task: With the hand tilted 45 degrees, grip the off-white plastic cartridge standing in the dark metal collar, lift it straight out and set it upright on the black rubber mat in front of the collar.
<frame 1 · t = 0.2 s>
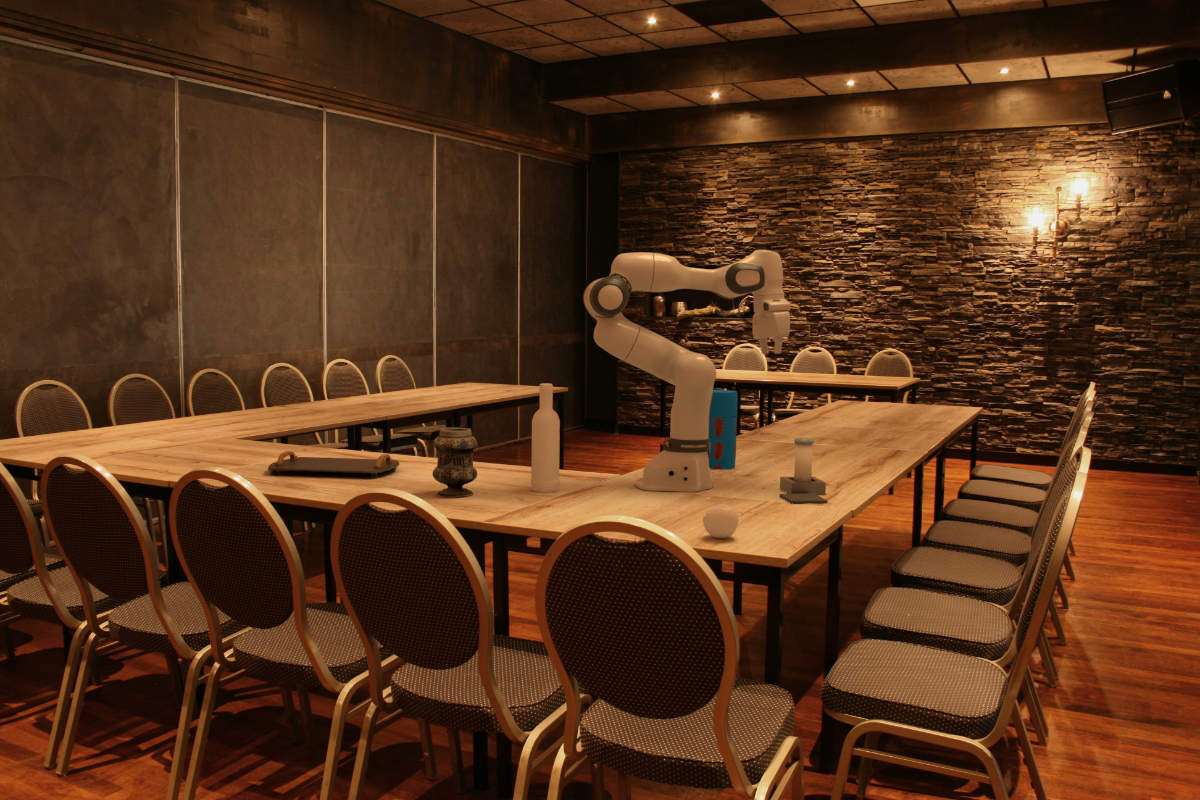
hand: (771, 353, 282), 39 cm above the table, tool pointing down, fingers open, 8 cm apart
serving board: (335, 473, 299), on the table
cartridge: (803, 465, 277), in the collar
collar: (802, 491, 277), on the table
bottle: (545, 490, 274), on the table
mat: (803, 500, 265), on the table
red-spotted teal box: (718, 467, 319), on the table
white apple: (720, 538, 219), on the table
apothecary jar: (455, 495, 265), on the table
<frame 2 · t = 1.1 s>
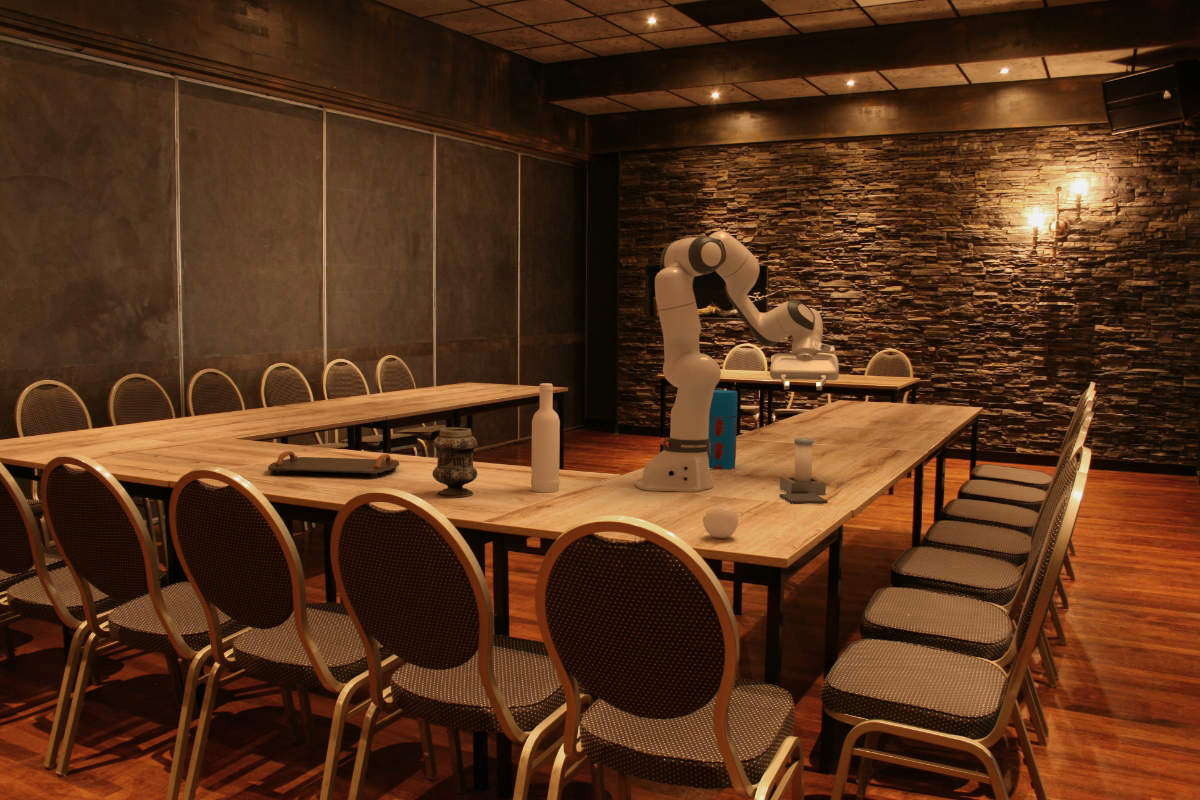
hand: (802, 388, 286), 29 cm above the table, tool tilted 45°, fingers open, 8 cm apart
nothing on the table moved.
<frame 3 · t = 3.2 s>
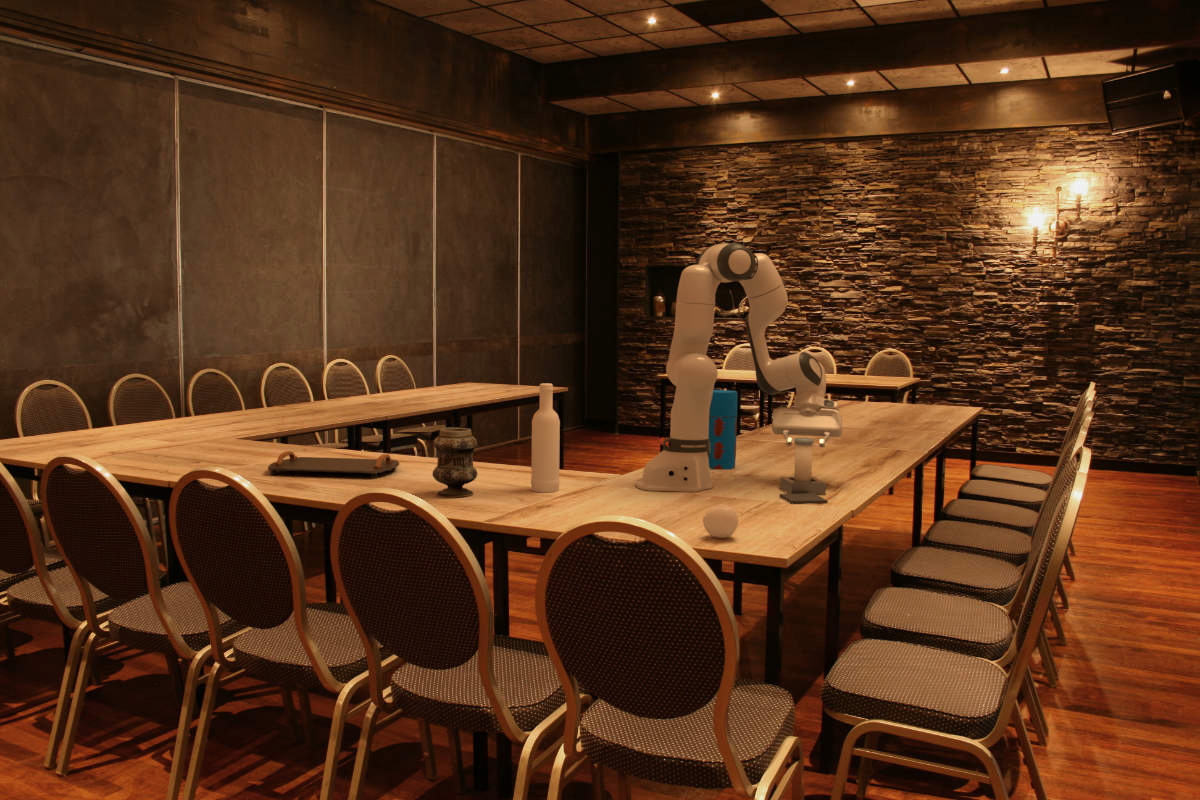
hand: (805, 445, 281), 13 cm above the table, tool tilted 45°, fingers open, 8 cm apart
nothing on the table moved.
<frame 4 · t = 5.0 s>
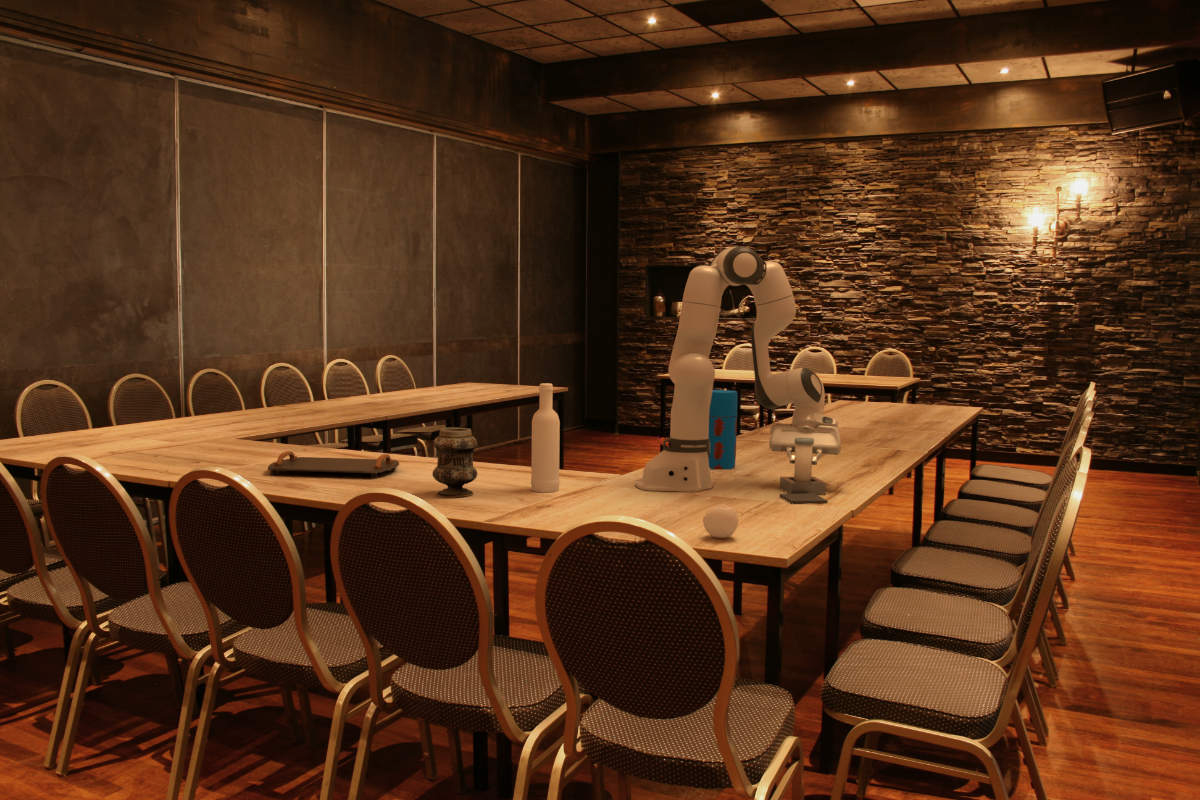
hand: (803, 463, 276), 8 cm above the table, tool tilted 45°, fingers closed on cartridge, 5 cm apart
cartridge: (803, 465, 277), in the collar, touching gripper
everything else where it was.
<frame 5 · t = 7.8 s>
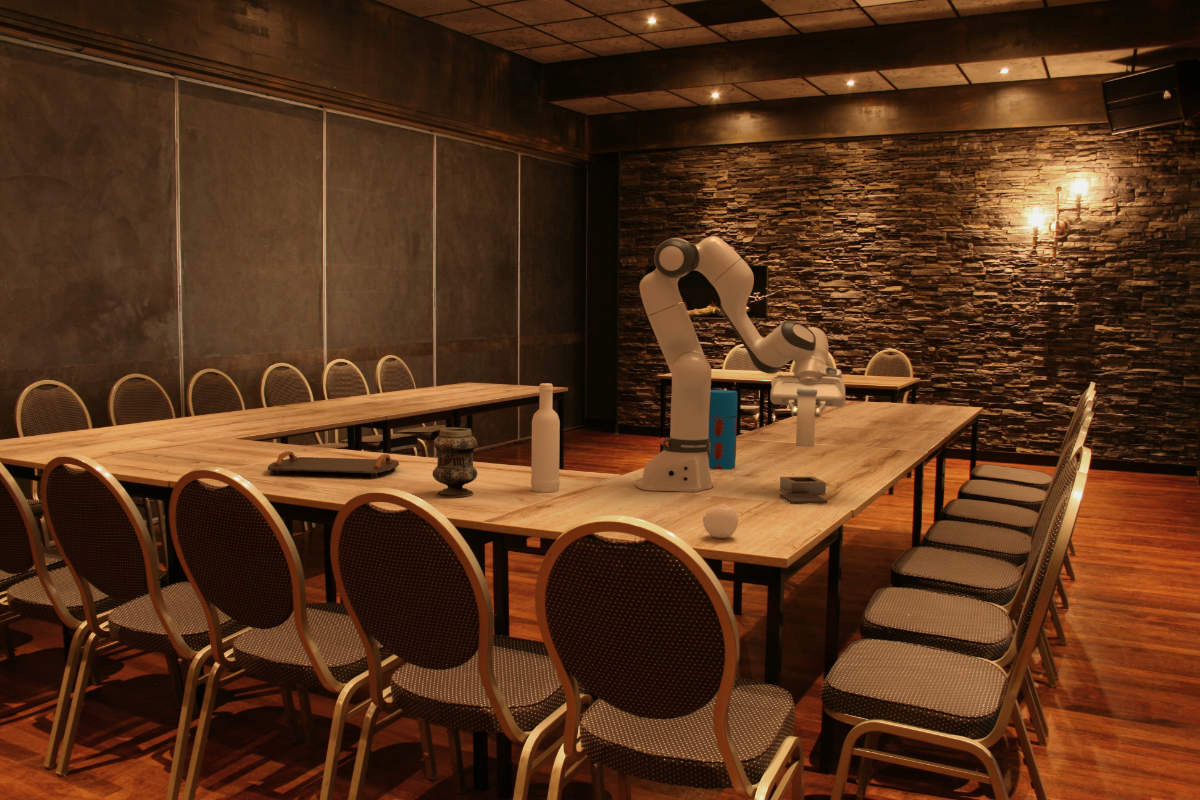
hand: (805, 415, 263), 23 cm above the table, tool tilted 45°, fingers closed on cartridge, 5 cm apart
cartridge: (805, 417, 263), point 22 cm above the table, touching gripper
everything else where it was.
when the fingers open (11 cm above the table, at t = 10.5 s): cartridge drops 2 cm, resting on mat.
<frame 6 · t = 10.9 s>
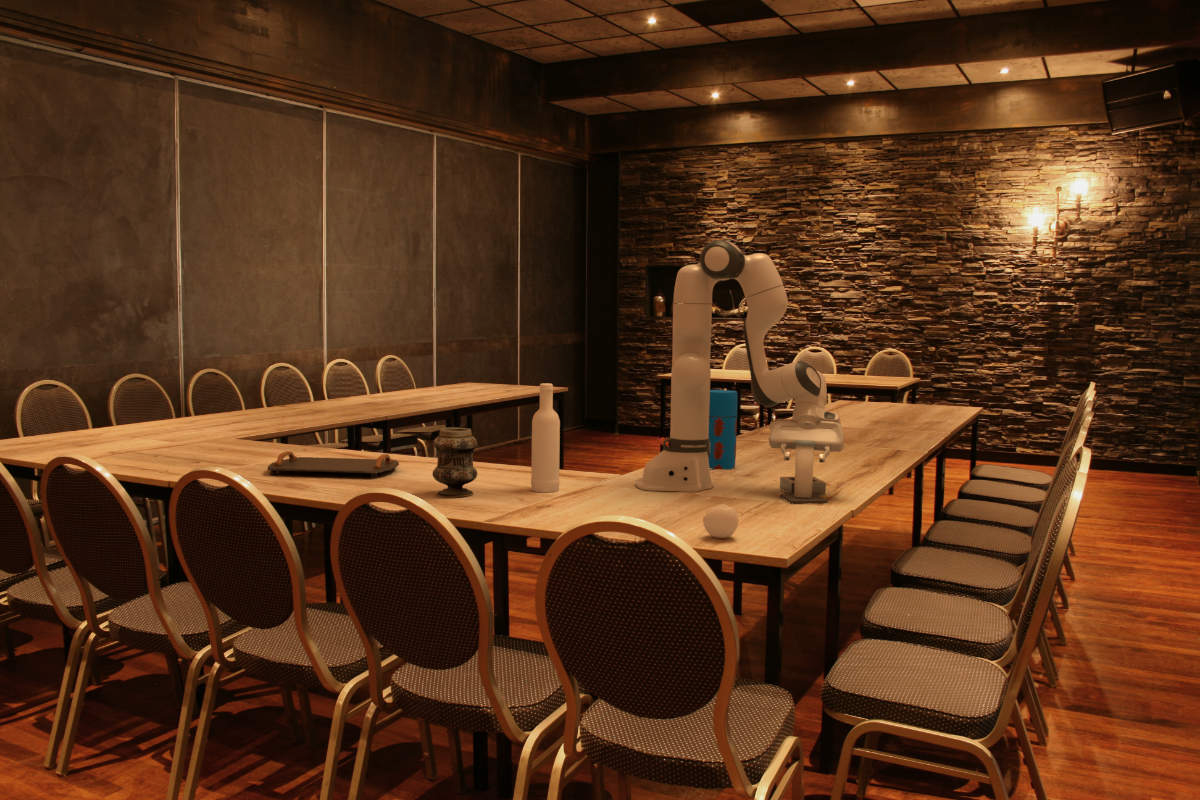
hand: (804, 460, 263), 11 cm above the table, tool tilted 45°, fingers open, 8 cm apart
cartridge: (804, 468, 265), on the mat, point 8 cm above the table
everything else where it was.
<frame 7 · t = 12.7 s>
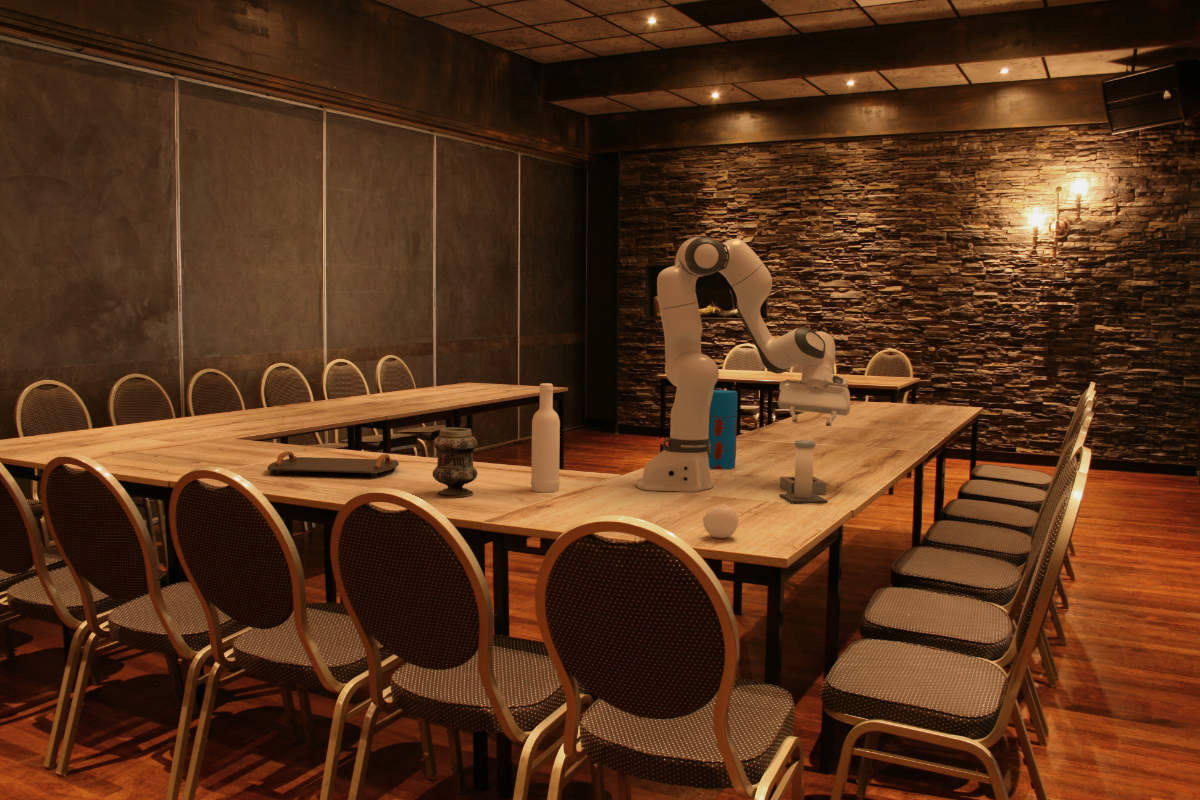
hand: (811, 423, 276), 20 cm above the table, tool tilted 40°, fingers open, 8 cm apart
nothing on the table moved.
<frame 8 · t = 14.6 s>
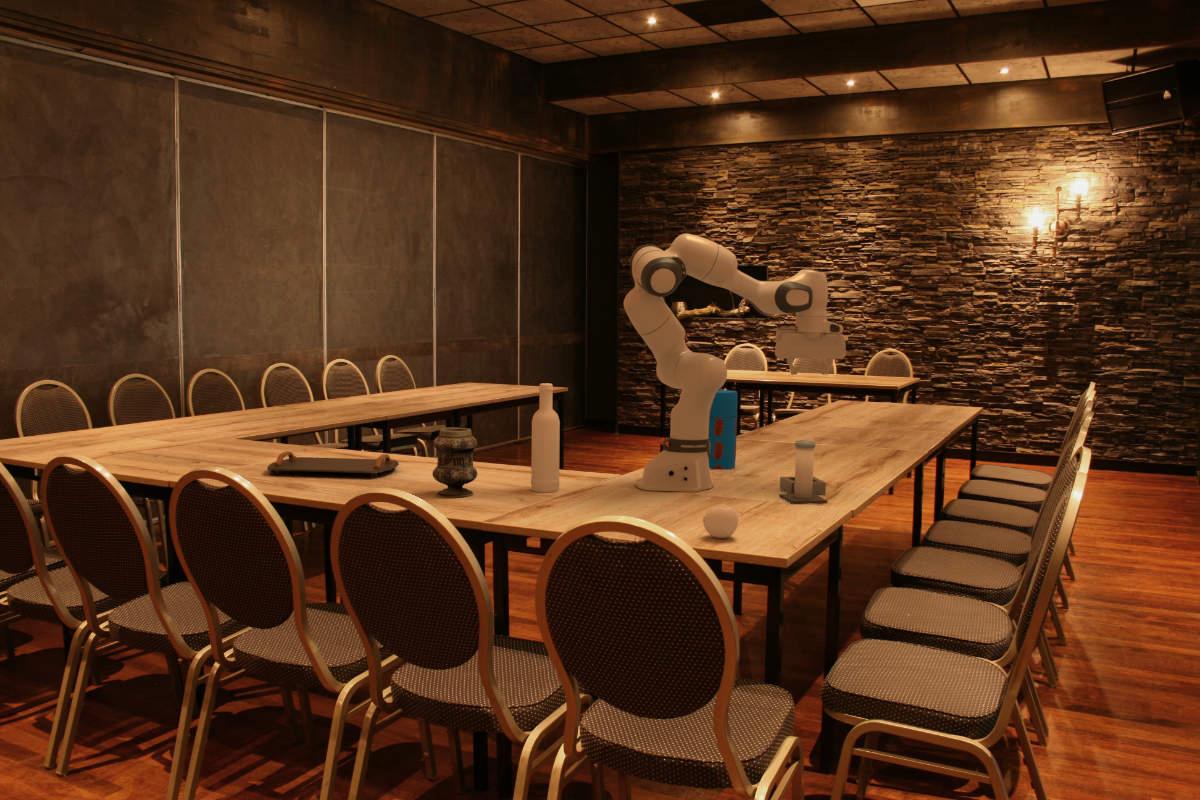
hand: (809, 374, 281), 33 cm above the table, tool pointing down, fingers open, 8 cm apart
nothing on the table moved.
at the end: cartridge inside the target area on the mat (0.0 cm from its centre), point 8.4 cm above the mat's base; cartridge tilted 1°; the gripper is holding nothing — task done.
